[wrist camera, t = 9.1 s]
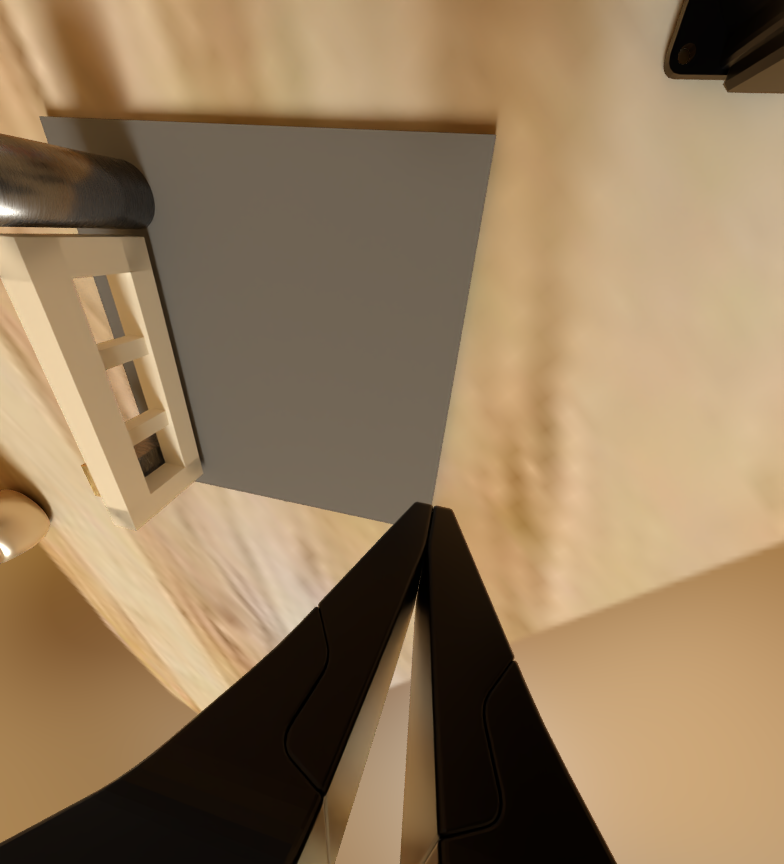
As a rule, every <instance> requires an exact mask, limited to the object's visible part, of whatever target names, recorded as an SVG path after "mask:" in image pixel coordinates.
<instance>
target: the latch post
mask: <svg viewBox="0 0 784 864" xmlns="http://www.w3.org/2000/svg"><path fill="white" fill-rule="evenodd" d="M133 447H134V450H135V453H136V455H137V458H138V461H139V464H140V466H141V469H142V472H143V475H144V477H146V476H148V475H149V474H150V473H152V472H153V471H155V470H156V469H157V468H159V467H160V466H162V465H163V464H164V463H165V460H164V457H163V454H162V451H161V448H160V444H159V441H158V438H157V435H156V433H154V434H153V435H151V436H149V437H148V438H146V439H144V440H143V441H141V442H139V443H138V444H136V445H134V446H133ZM81 466H82V468H83V471H84V473H85V475H86V477H87V479H88V481H89V483H90V485H91V487H92V489H93V492H94V494H95V496H100V497H101V495H100V493H99V491H98V489H97V487H96V484H95V482H94V480H93V478H92V476H91V473H90V471H89V469H88V467H87V465H86V463H84V464H83V465H81Z"/></svg>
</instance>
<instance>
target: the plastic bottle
mask: <svg viewBox="0 0 784 864" xmlns="http://www.w3.org/2000/svg"><path fill="white" fill-rule="evenodd" d="M49 527H50V521H49V519H48V517H47V515H46V513H45V512H44V511H43V510H42V509H41V508H40V507H39V506H38V505H37V504H36V503H35V502H34V501H32V500H31V499H30V498H28V497H27V496H25V495H23V494H21V493H19V492H17V491H14V490H0V563H3V562H6V561H8V560H10V559H12V558H14V557H16V556H18V555H20V554H21V553H23V552H25V551H27V550H29V549H31V548H32V547H34V546H35V545H36V544H37V543H38V542H39V541H40V540H41V539H42V538H44V537H45V536H46V534H47V532H48V530H49Z"/></svg>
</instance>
